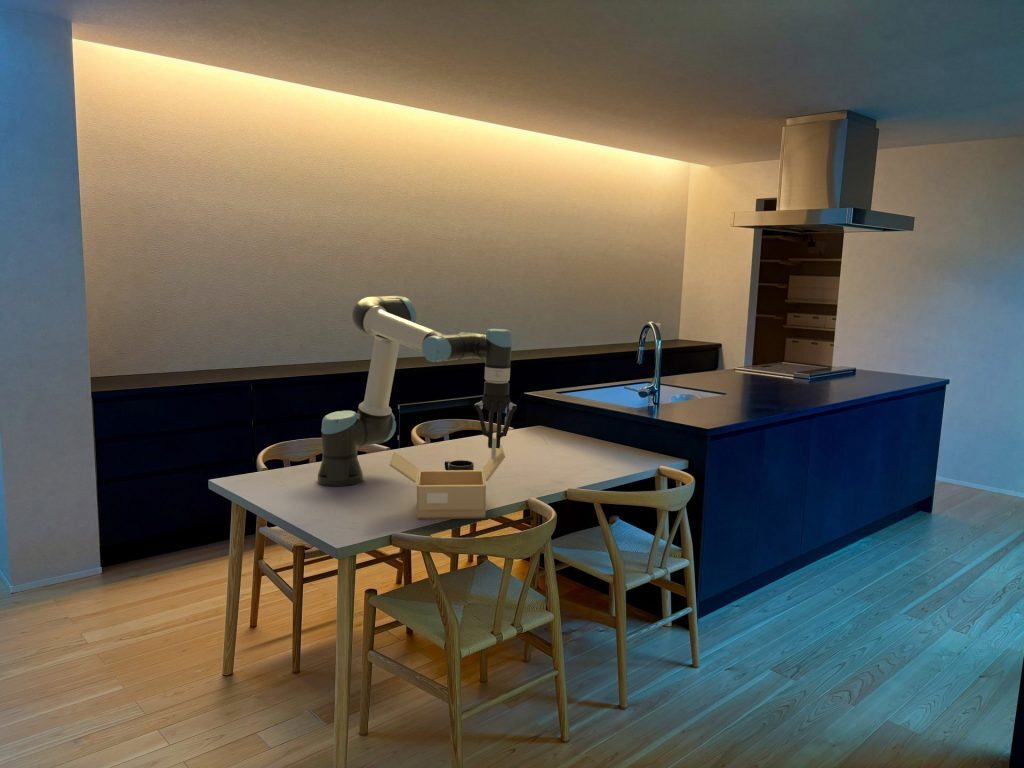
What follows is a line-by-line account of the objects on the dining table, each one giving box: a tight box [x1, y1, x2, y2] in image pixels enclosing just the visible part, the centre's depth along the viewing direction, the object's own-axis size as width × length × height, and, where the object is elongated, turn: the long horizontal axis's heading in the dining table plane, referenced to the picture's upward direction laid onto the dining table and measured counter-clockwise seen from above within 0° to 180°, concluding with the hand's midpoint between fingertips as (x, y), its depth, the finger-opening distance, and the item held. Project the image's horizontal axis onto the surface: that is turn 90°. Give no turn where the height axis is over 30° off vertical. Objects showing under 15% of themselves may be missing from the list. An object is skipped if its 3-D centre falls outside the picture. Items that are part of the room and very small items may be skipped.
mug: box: [443, 459, 475, 470], centre depth 243 cm, size 8×12×10 cm
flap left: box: [389, 451, 419, 483], centre depth 219 cm, size 1×15×9 cm
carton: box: [416, 469, 487, 520], centre depth 222 cm, size 20×18×10 cm
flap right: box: [483, 443, 506, 482], centre depth 221 cm, size 1×15×9 cm
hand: (493, 458), depth 221 cm, fingers closed
